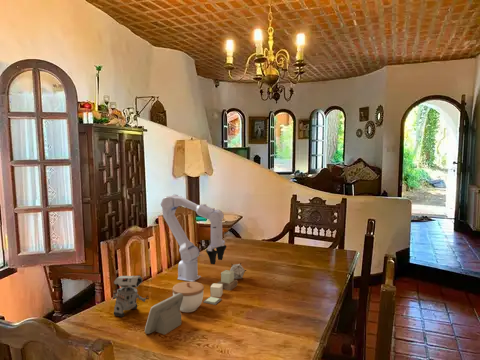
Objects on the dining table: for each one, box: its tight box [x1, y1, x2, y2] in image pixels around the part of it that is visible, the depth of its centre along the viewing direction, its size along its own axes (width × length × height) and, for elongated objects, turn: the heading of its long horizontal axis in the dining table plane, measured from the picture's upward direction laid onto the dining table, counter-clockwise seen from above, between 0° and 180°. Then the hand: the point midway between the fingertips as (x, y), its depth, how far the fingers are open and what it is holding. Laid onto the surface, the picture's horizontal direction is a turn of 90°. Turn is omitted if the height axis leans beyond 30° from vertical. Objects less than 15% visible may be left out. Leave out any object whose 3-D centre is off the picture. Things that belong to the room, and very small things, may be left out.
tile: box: [202, 296, 223, 306], centre depth 150 cm, size 6×6×1 cm
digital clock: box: [144, 293, 183, 335], centre depth 127 cm, size 16×9×11 cm, turn 137°
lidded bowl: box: [171, 281, 205, 313], centre depth 143 cm, size 13×13×11 cm
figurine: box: [112, 274, 149, 318], centre depth 139 cm, size 9×12×15 cm
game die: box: [229, 262, 247, 280], centre depth 177 cm, size 9×8×10 cm
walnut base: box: [216, 279, 238, 291], centre depth 167 cm, size 7×7×3 cm
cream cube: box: [209, 283, 224, 298], centre depth 157 cm, size 4×4×4 cm
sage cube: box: [220, 269, 235, 283], centre depth 167 cm, size 4×4×4 cm
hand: (216, 261), depth 173 cm, fingers open, 7 cm apart
